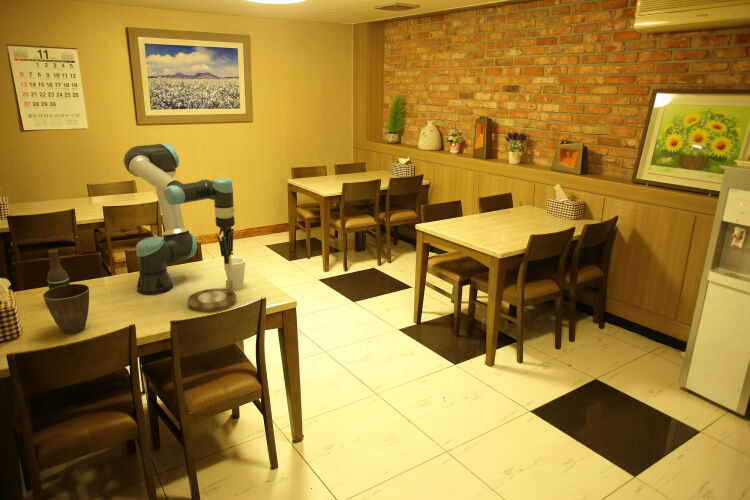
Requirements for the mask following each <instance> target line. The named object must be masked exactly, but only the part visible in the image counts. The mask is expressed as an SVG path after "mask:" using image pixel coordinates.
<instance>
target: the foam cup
mask: <svg viewBox="0 0 750 500" xmlns="http://www.w3.org/2000/svg"><path fill="white" fill-rule="evenodd" d="M231 261H232V270H231V271H227V270H225V275H226V280H230V279H231V280H233V287H234V291H235V290H236V291H238V290H241V289H243V288H244V283H245V282H244V280H245V267H246V259H245V258H242V257H231Z"/></svg>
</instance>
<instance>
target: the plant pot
mask: <svg viewBox="0 0 750 500" xmlns="http://www.w3.org/2000/svg"><path fill="white" fill-rule="evenodd" d="M42 297H43V300H44V303H45V305H46V307H47V309H48V311H49V313H50V315H51V317H52V319H53V321H54V322H55V324H56V325H57V327H58V328H59V329H60V331H61V332H62V333H63V334H64V335H65V334H66V335H74V334H78V333H81V332H83V331H84V330H85V329H86V326H87V321H88V314H89V308H90V287H89V286H88V285H87V284H83V283H70V284H69V285H63V286H58V287H55V288H52V289H50V290H49V289H48V290H46V291H44V293H43V294H42Z"/></svg>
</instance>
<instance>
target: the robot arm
mask: <svg viewBox="0 0 750 500" xmlns="http://www.w3.org/2000/svg"><path fill="white" fill-rule="evenodd" d="M179 163H180V159H179V155H178V152H177V151H176V149H175V148H174V147H173V146H172V145H171V144H167V143H157V144H145V145H144V144H143V145H135V146H132V147H131V148H129V149H128V150H127V151H126V152H125V154H124V157H123V165H124V168H125V170H126V171H127V172H128V173H130V175H132V176H134V177H135V178H136V177H138V178H142V180H144V181H145V182H146V183H149V184H150V185H151V186H153V187H154V188H155V190H156V195H157V199H158V203H159V204H158V205H159V208H160V213H161V217H162V222H163V226H164V231H163V234H162V237H161V236H153V237H152V236H151V237H147V238H143V239H141V240H140V241H138V242H137V243H136V247H135V248H136V249H135V250H136V252H135V254H136V258H137V265H138V266H137V267H138V271H139V272H138V273H139V274H138V275H139V276H138V280H137V286H136V289H137V293H139V294H141V295H148V296H149V295H150V296H151V295H159V294H164V293H167V292H169V291H170V290H172V289H173V288H174V284H173V283H174V282H173V280H172V278H171V276H170V274H169V272H168V268H167V265H168V264H173V263H177V262H180V261H183V260H188V259H190V258H192V257H194V256H195V254H196V252H197V251H198V243H197V238H196V237H195V235H194V234H193V233H192V232H191V233H190V231H189V230H190V229H188V228H186V227H185V223H184V219H183V213H182V209H181V204H187V203H192V202H198V201H204V200H212V201H214V202H213V204H214V216H215V226H216V227H218V228H219V229H220V230H219V236H217V240H218V244H219V249H220V256H221V257H223V267H224V271H226V270H227V271H231V270H232V261H231V258H232V255H234V252H233V251H234V233H235V229H234V228H233V227H234V226H235V225H236V223H235V222H236V221H235V212H236V209H235V207H234V206H235V205H234V204H235V203H234V187H233V181H232V179H230V178H228V177H227V178H225V177H219V178H214V179H213V180H210V179H205V178H201V179H198V180H197V181H194V182H187V183H182V182H181V181H180V180H178V179H176V178H175V177H174V176H175V175H176V173H177V170H176V169H178V168H179V166H180V164H179Z"/></svg>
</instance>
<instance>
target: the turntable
mask: <svg viewBox="0 0 750 500" xmlns="http://www.w3.org/2000/svg"><path fill="white" fill-rule="evenodd" d="M236 301H237V294H236V292H235V290H234V287H233V280H231V279H230V280H228V279H226V280H225V288H208V289H203V290H198V291H196V292H194V293H192V294H191V295H190V296H189V297H188V298H187V304H188V306H189V307H190V308H191V309H194V310H199V311H215V310H220V309H224V308H227V307H229V306H232V305H233V304H234V303H235V302H236Z"/></svg>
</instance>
